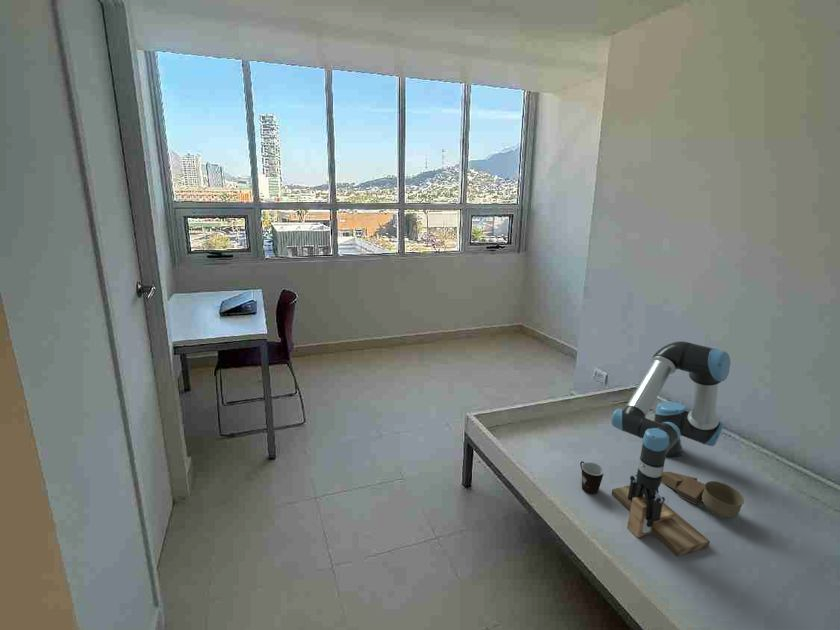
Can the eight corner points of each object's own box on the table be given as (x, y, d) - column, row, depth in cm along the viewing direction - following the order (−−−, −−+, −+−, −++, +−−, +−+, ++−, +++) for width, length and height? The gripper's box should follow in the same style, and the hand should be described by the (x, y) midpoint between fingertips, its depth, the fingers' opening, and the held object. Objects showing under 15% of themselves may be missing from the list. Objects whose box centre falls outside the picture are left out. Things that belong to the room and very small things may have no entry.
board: (639, 487, 180) (640, 482, 179) (708, 546, 151) (710, 540, 150) (611, 494, 176) (612, 489, 175) (677, 556, 147) (678, 550, 146)
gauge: (664, 517, 164) (671, 487, 160) (675, 526, 159) (682, 496, 155) (627, 527, 159) (632, 496, 155) (637, 537, 154) (643, 506, 150)
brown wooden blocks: (678, 481, 189) (717, 503, 172) (654, 483, 185) (691, 506, 168) (681, 465, 189) (720, 486, 172) (657, 466, 185) (694, 488, 168)
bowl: (727, 530, 158) (733, 508, 155) (692, 508, 169) (697, 487, 166) (745, 518, 164) (751, 496, 161) (710, 497, 175) (715, 477, 172)
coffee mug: (602, 497, 174) (606, 476, 171) (580, 494, 176) (583, 473, 173) (597, 479, 185) (600, 459, 182) (576, 476, 187) (579, 456, 184)
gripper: (622, 458, 157) (613, 510, 164) (662, 490, 141) (650, 547, 148) (639, 454, 160) (630, 506, 166) (680, 486, 143) (668, 542, 150)
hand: (639, 525), depth 157 cm, fingers closed on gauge, 5 cm apart
